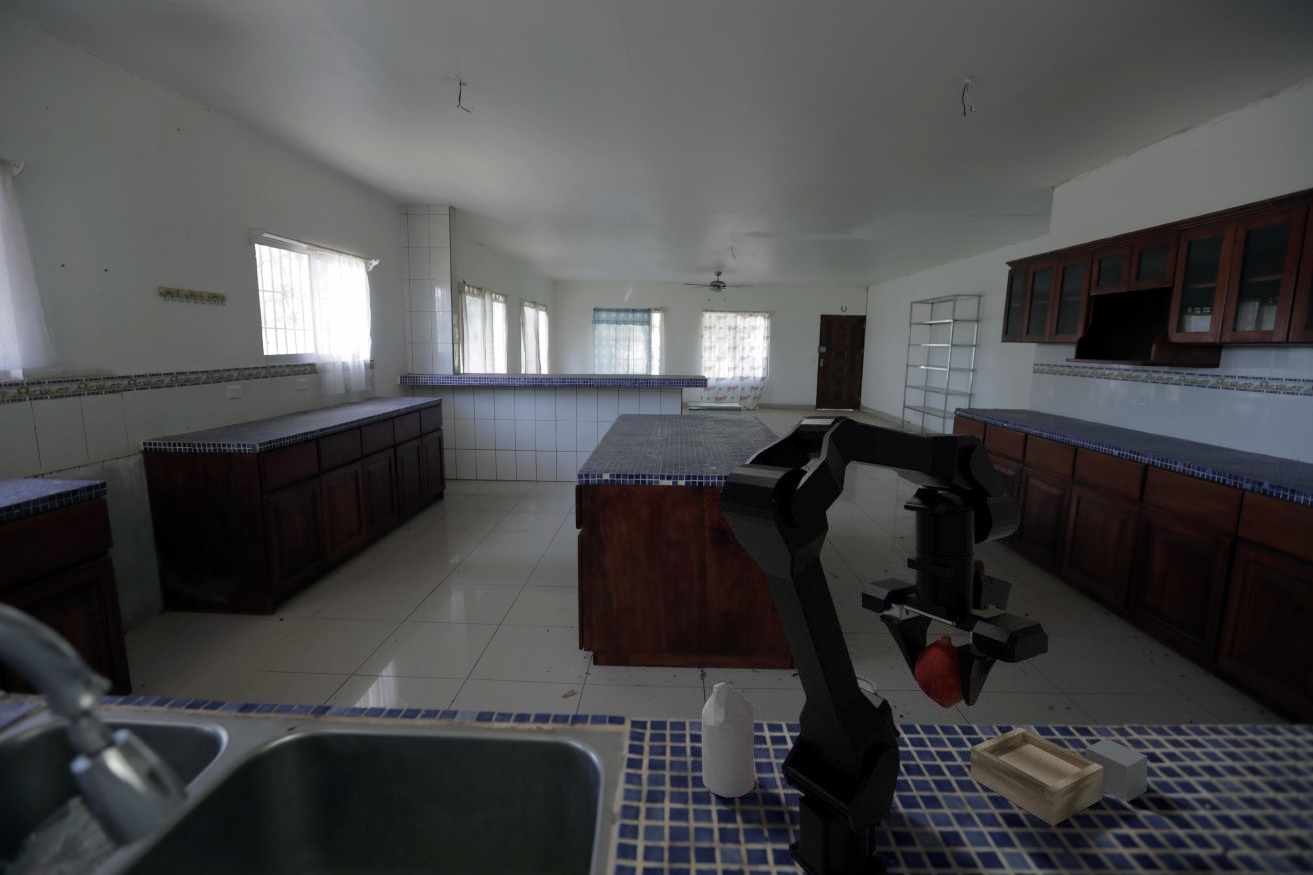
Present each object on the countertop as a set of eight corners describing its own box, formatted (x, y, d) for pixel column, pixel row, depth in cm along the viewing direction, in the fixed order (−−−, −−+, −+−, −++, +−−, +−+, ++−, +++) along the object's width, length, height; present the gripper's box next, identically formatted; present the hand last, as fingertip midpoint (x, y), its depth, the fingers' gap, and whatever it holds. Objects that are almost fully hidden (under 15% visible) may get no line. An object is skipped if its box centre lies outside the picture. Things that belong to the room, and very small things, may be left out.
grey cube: (1126, 803, 63) (1127, 766, 63) (1085, 782, 67) (1086, 747, 66) (1146, 791, 65) (1147, 756, 65) (1105, 772, 68) (1106, 738, 68)
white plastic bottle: (755, 671, 69) (752, 694, 64) (756, 771, 70) (753, 802, 64) (704, 667, 71) (697, 689, 65) (705, 765, 71) (698, 795, 66)
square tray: (1052, 825, 60) (1053, 792, 60) (970, 777, 68) (970, 747, 68) (1103, 798, 64) (1103, 766, 64) (1019, 755, 72) (1020, 726, 72)
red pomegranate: (912, 713, 63) (912, 639, 63) (917, 690, 68) (916, 621, 68) (974, 725, 61) (974, 648, 60) (974, 700, 66) (974, 629, 65)
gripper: (1082, 559, 59) (1080, 712, 60) (923, 527, 76) (923, 647, 76) (1011, 575, 54) (1010, 742, 55) (857, 537, 71) (858, 665, 71)
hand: (944, 692), depth 64 cm, fingers closed on red pomegranate, 6 cm apart
